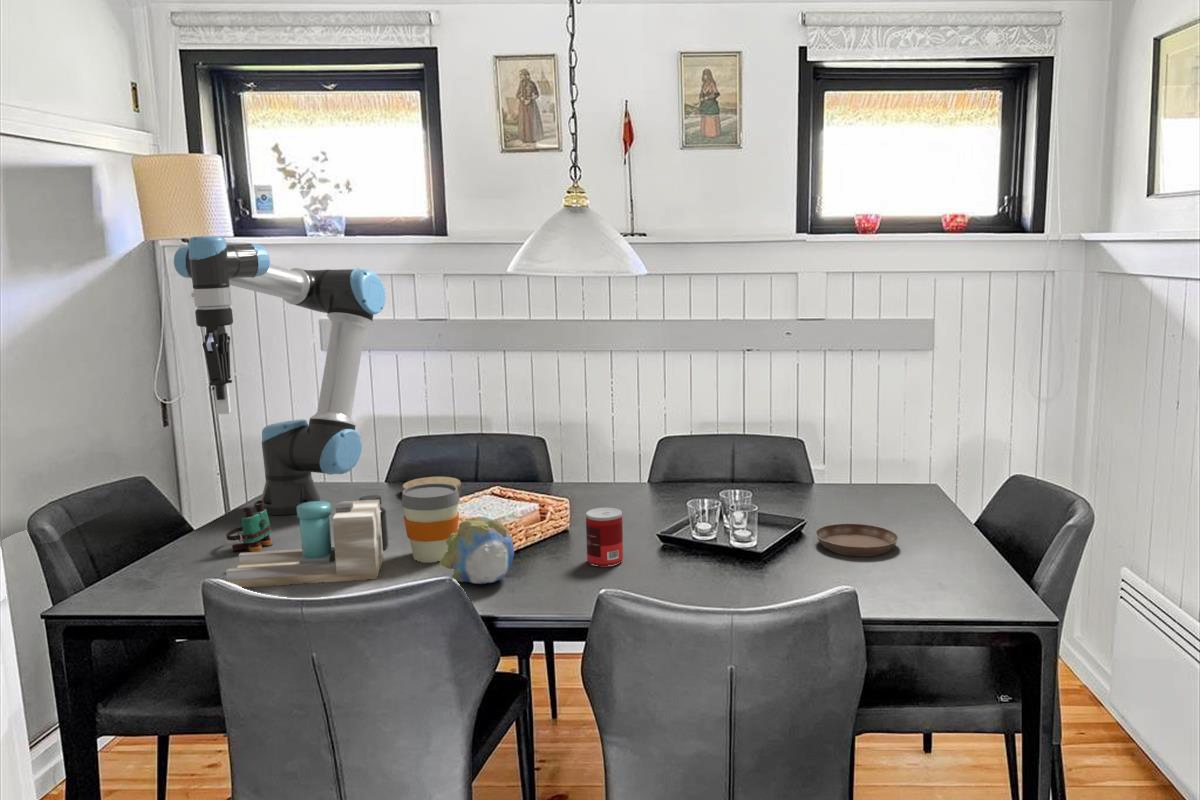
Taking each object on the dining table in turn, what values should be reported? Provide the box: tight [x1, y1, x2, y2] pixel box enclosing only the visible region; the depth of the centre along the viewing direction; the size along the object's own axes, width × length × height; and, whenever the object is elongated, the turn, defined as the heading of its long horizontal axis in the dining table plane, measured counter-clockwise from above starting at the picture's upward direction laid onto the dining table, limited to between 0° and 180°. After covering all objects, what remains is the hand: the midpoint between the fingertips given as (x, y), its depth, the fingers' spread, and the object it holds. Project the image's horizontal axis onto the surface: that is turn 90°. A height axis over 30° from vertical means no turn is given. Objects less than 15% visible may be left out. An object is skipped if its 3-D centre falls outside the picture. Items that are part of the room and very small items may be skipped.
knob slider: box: [296, 500, 335, 564], centre depth 201 cm, size 7×7×13 cm
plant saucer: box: [815, 523, 899, 557], centre depth 211 cm, size 18×18×3 cm
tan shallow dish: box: [402, 476, 462, 495], centre depth 264 cm, size 16×16×3 cm
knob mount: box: [225, 499, 384, 588], centre depth 201 cm, size 13×30×14 cm, turn 97°
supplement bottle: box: [358, 494, 390, 551], centre depth 217 cm, size 7×7×12 cm
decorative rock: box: [439, 516, 515, 585], centre depth 195 cm, size 14×16×15 cm
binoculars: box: [225, 499, 273, 552], centre depth 220 cm, size 9×10×10 cm
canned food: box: [585, 507, 624, 566], centre depth 204 cm, size 8×8×11 cm
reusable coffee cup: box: [401, 483, 460, 563], centre depth 210 cm, size 12×13×15 cm
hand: (224, 413), depth 213 cm, fingers closed
